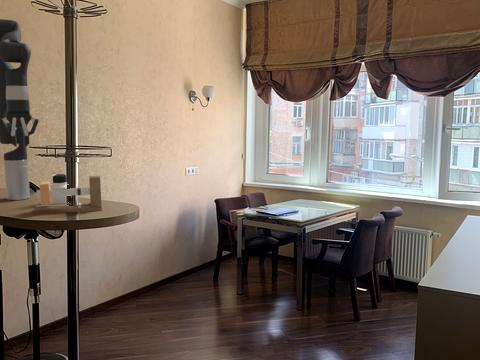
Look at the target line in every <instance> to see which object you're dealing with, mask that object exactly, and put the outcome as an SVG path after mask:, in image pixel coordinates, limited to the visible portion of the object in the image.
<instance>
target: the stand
mask: <svg viewBox="0 0 480 360" xmlns="http://www.w3.org/2000/svg"><path fill="white" fill-rule="evenodd" d="M88 177H89V179H88V181H89V188H90V195H89V200H90V202H77V203H78V205H76V206H69V205H67V204H68V203H67V204H50V205H45V206H41V204H39V205H35V208H34V209H33V215H49V214H63V213H64V214H65V213H66V214H67V213H79V212H96V211H97V212H99V211H102V210H103V207H102V190H101V189H102V188H101V176H100V175H89V176H88Z"/></svg>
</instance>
